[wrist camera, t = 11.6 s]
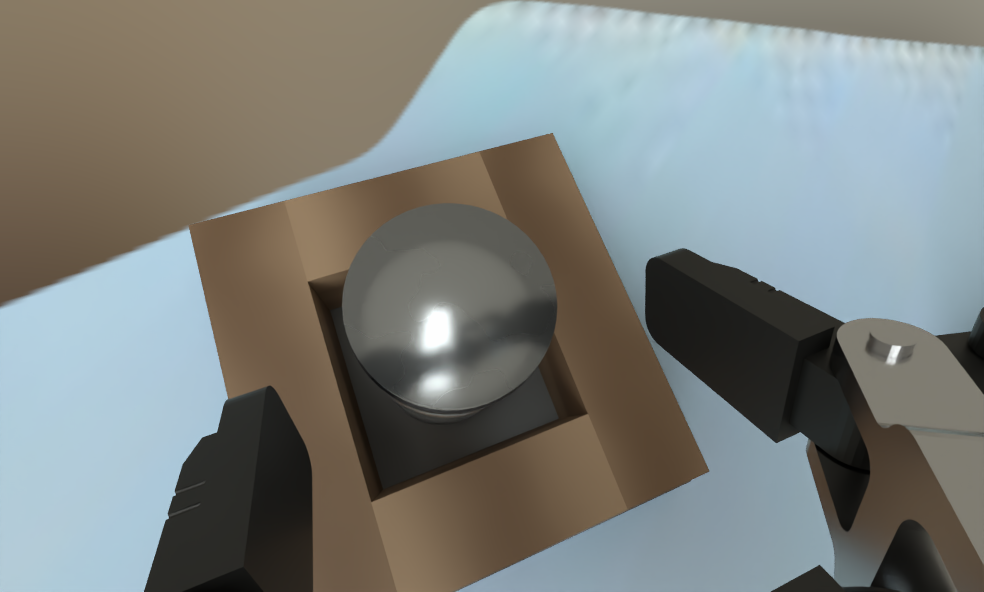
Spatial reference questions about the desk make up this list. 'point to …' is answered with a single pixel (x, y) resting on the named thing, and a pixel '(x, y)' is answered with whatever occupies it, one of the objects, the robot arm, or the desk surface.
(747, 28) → the desk surface
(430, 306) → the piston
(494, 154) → the jig
